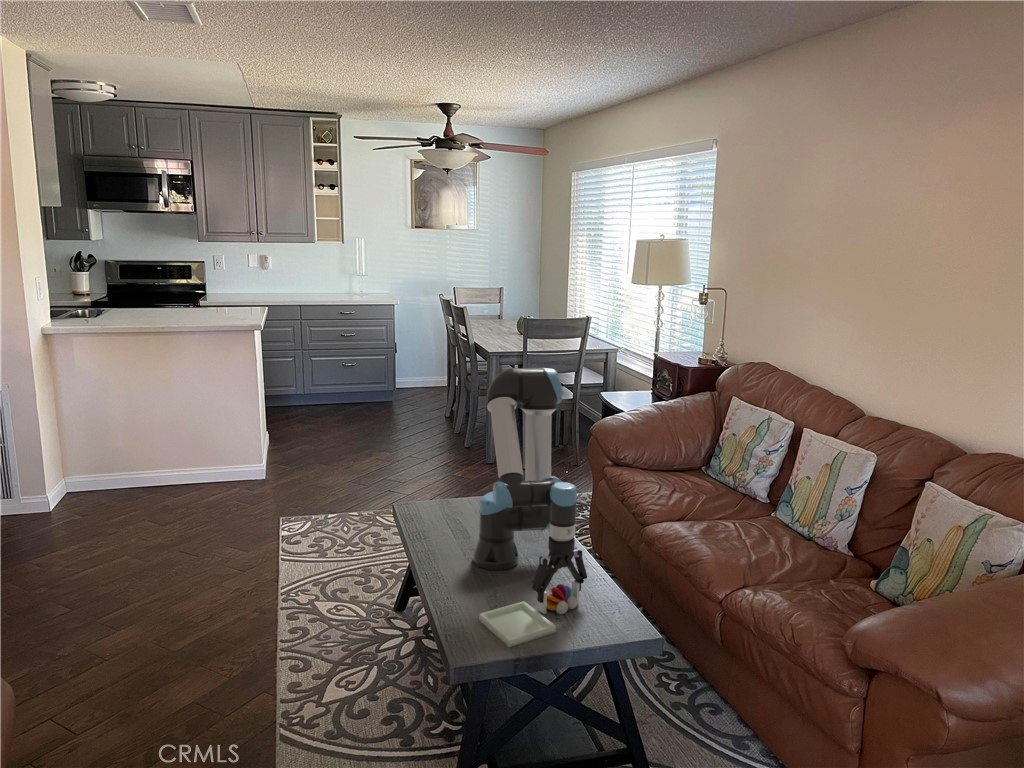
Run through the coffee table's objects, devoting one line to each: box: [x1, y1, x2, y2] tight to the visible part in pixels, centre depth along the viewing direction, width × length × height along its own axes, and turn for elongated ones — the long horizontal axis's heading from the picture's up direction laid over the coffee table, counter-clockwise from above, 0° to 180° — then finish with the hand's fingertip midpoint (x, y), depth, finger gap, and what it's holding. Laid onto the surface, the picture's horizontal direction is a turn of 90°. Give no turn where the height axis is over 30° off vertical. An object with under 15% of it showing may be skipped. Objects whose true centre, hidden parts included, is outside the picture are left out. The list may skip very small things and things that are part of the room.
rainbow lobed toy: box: [546, 583, 578, 615], centre depth 212 cm, size 8×10×7 cm
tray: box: [478, 600, 557, 648], centre depth 202 cm, size 16×15×2 cm
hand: (558, 606), depth 213 cm, fingers open, 11 cm apart
